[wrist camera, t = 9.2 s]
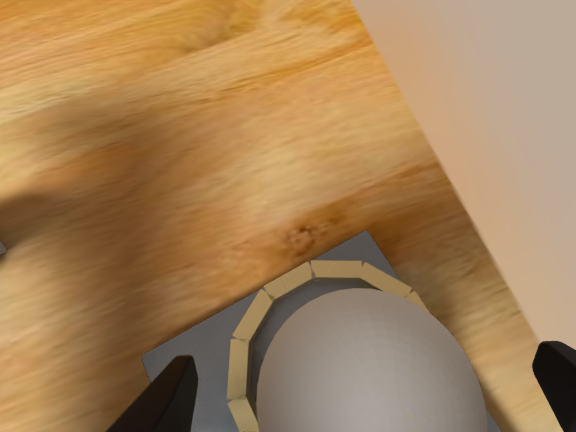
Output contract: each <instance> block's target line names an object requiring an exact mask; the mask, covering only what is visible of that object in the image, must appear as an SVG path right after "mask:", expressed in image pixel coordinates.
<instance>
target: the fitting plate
mask: <svg viewBox="0 0 576 432" xmlns="http://www.w3.org/2000/svg"><path fill="white" fill-rule="evenodd" d="M352 288H363V289H375V290H380V291H385V292H389V293H392V294H394V295H397V296H400V297H403V298H405V299H407V300H409V301H411V302H413V303H415V304H417V305H418V306H420V307H421V308H423V309H424V310H425V311H427V312H428V313H430V312H429V311H428V309H427V308H426V306H425V305H424V303H423V302H422V300H421V299H420V297H419V296H418V294H417V293H416V291H413V292H410V291H411V289H412V288H411V287H409V286H408V285H406V284H404V283H402V282H401V280H400V279H399V277H398V276H397V274H396V273H395V271H394V270H393V268H392V267H391V265H390V264H389V262H388V261H387V259H386V258H385V256H384V255H383V253H382V252H381V250H380V249H379V247H378V246H377V244H376V243H375V241H374V240H373V238H372V237H371V235H370V234H369V232H368V231H367V230H365V231H363V232H361V233H360V234H358V235H356V236H354V237H353V238H351V239H349V240H347V241H345V242H344V243H342V244H340V245H338V246H336V247H335V248H333V249H331V250H329V251H328V252H326V253H324V254H322V255H320V256H319V257H317V258H315V259H313V260H311V261H310V262H308V261H307V262H305V263H304V264H302V265H300V266H298V267H297V268H295V269H293V270H291V271H289V272H288V273H286V274H284V275H282V276H280V277H279V278H277V279H275V280H273V281H272V282H270V283H268V284H266V285H264V287H263V288H261V289H260V290H258V291H256V292H254V293H253V294H251V295H249V296H247V297H245V298H244V299H242V300H240V301H238V302H236V303H235V304H233V305H231V306H229V307H228V308H226V309H224V310H222V311H220V312H219V313H217V314H215V315H213V316H211V317H210V318H208V319H206V320H204V321H203V322H201V323H199V324H197V325H195V326H194V327H192V328H190V329H188V330H186V331H185V332H183V333H181V334H179V335H178V336H176V337H174V338H172V339H170V340H169V341H167V342H165V343H163V344H161V345H160V346H158V347H156V348H154V349H153V350H151V351H149V352H147V353H145V354H144V355H142V356H141V359H142V361H143V364H144V367H145V369H146V372H147V375H148V377H149V380H150V383H151V382H152V381H153V380H154V379H155V378H156V377H157V376H158V375H159V374H160V372H161V371H162V370H163V369H164V368H165V367H166V366H167V365H168V364H169V363H170V362H171V361H172V360H173V358H174V357H176V356H177V355H192V356H193V358H194V361H195V365H196V370H197V374H198V388H197V395H196V401H195V407H194V413H193V420H192V426H191V432H259V427H258V420H257V407H256V401H257V384H258V379H259V374H260V369H261V366H262V363H263V360H264V357H265V354H266V352H267V349H268V347H269V345H270V344H271V342H272V340H273V338H274V336H275V334H276V333H277V332H278V330H279V329H280V328H281V326H282V325H283V324H284V322H285V321H286V320H287V319H288V318H289V317H290V316H291V315H292V314H293V313H295V312H296V311H297V310H298V309H299V308H301V307H302V306H304V305H305V304H307V303H308V302H309V301H311V300H314V299H316V298H318V297H320V296H322V295H324V294H327V293H331V292H334V291H338V290H345V289H352ZM485 408H486V407H485ZM486 415H487V432H502V431H501V430H500V428H499V427H498V425H497V424H496V422H495V421H494V419H493V418H492V416H491V415H490V413H489V412H488V410H487V409H486Z"/></svg>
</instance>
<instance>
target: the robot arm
mask: <svg viewBox="0 0 576 432" xmlns="http://www.w3.org/2000/svg"><path fill="white" fill-rule="evenodd" d="M532 368H533V372H534V375H535V377H536V379H537V381H538V383H539V385H540V387H541V389H542V391H543V393H544V395H545V396H546V398H547V400H548V402H549V404H550V406H551V408H552V410H553V412H554V414H555V416H556V418H557V420H558V422H559V424H560V426H561V428H562V429H563V431H564V432H576V350H575V349H573V348H571V347H569V346H567V345H566V344H564V343H562V342H559V341H543V342H541V343H540V344H539V346H538V349H537V352H536V355H535V358H534V360H533V364H532ZM197 388H198V374H197V370H196V365H195V361H194V358H193V356H192V355H177V356H176V357H174V358H173V360H172V361H171V362H170V363H169V364H168V365H167V366H166V367H165V368H164V369H163V370H162V371H161V372H160V374H159V375H158V376H157V377H156V378H155V379H154V380H153V381H152V382H151V383H150V384H149V385H148V386H147V387H146V389H145V390H144V391H143V392H142V393H141V394H140V395H139V396H138V397H137V398H136V399H135V400H134V401H133V403H132V404H131V405H130V406H129V407H128V408H127V409H126V410H125V411H124V412H123V413H122V414H121V415H120V417H119V418H118V419H117V420H116V421H115V422H114V423H113V424H112V425H111V426H110V427H109V428H108V429H107V430H106V432H191V426H192V420H193V413H194V407H195V401H196V395H197Z"/></svg>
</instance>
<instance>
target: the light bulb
mask: <svg viewBox="0 0 576 432" xmlns="http://www.w3.org/2000/svg"><path fill="white" fill-rule="evenodd" d="M256 407H257V420H258V427H259V432H487V415H486V408H485V401H484V398H483V394H482V391H481V387H480V384H479V380H478V378H477V376H476V374H475V371H474V369H473V367H472V364H471V362H470V361H469V359H468V357H467V356H466V354H465V352H464V351H463V349H462V347H461V346H460V344H459V343H458V342H457V341H456V339H455V338H454V337H453V336H452V334H451V333H450V332H449V331H448V329H447V328H445V327H444V326H443V325H442V324H441V323H440V322H439V321H438V320H437V319H436V318H435V317H434V316H432V315H431V314H430V313H428V312H427V311H425V310H424V309H423V308H421V307H420V306H418V305H417V304H415V303H413V302H411V301H409V300H407V299H405V298H403V297H400V296H397V295H394V294H392V293H389V292H385V291H380V290H375V289H363V288H352V289H345V290H338V291H334V292H331V293H327V294H324V295H322V296H320V297H318V298H316V299H314V300H311V301H309V302H308V303H307V304H305V305H304V306H302V307H301V308H299V309H298V310H297V311H296V312H295V313H293V314H292V315H291V316H290V317H289V318H288V319H287V320H286V321H285V322H284V324H283V325H282V326H281V328H280V329H279V330H278V332H277V333H276V334H275V336H274V338H273V340H272V342H271V344H270V345H269V347H268V349H267V352H266V354H265V357H264V360H263V363H262V366H261V369H260V374H259V379H258V384H257V401H256Z"/></svg>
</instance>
